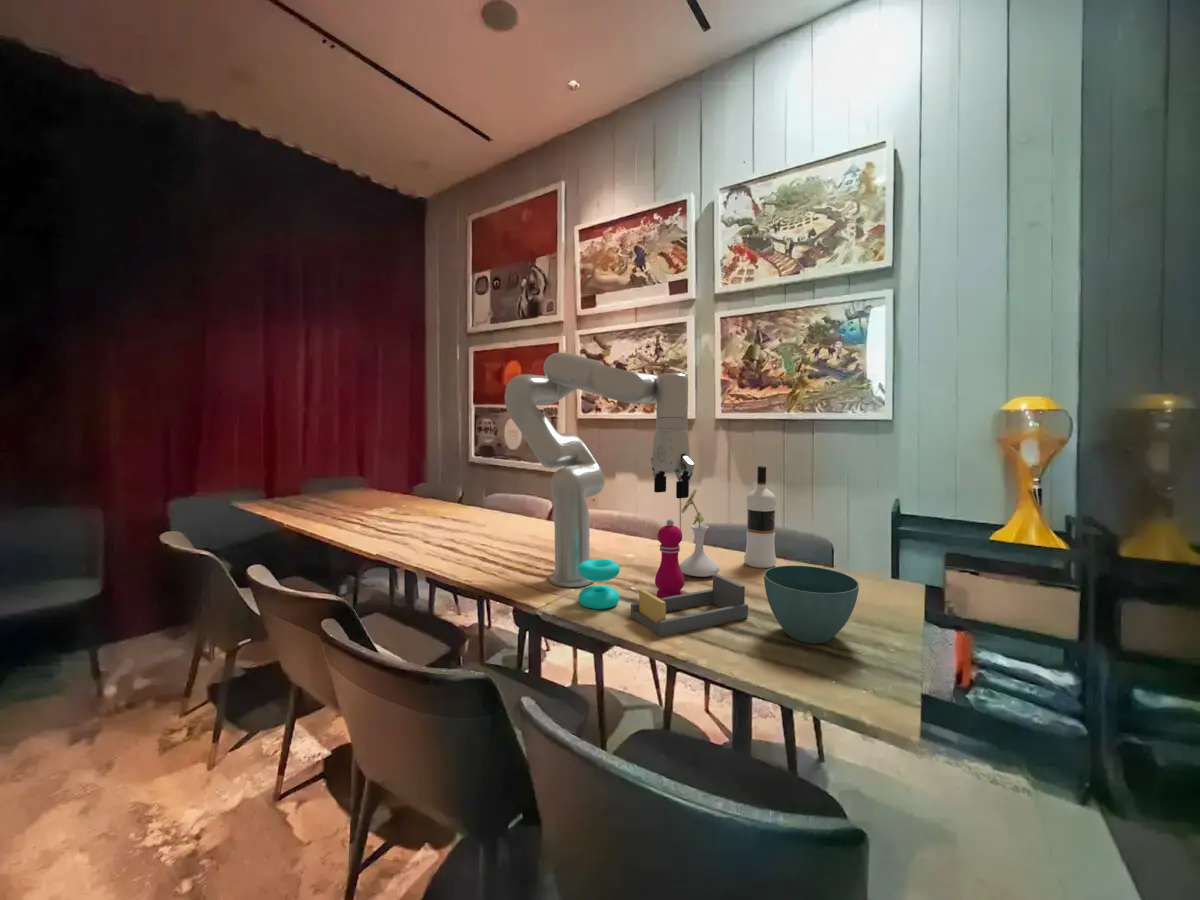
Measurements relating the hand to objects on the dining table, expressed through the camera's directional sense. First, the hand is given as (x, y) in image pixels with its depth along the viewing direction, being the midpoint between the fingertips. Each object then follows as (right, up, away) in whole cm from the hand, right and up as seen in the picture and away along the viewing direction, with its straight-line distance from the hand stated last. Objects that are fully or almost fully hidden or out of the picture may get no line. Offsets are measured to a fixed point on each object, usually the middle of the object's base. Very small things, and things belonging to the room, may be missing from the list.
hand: (670, 494), depth 132 cm
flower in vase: (+10, -25, +21) cm, 34 cm away
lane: (+3, -27, -10) cm, 29 cm away
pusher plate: (-6, -27, -14) cm, 31 cm away
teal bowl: (+26, -28, -20) cm, 43 cm away
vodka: (+31, -24, +31) cm, 50 cm away
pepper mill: (0, -26, +2) cm, 26 cm away
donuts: (-18, -27, -1) cm, 32 cm away
